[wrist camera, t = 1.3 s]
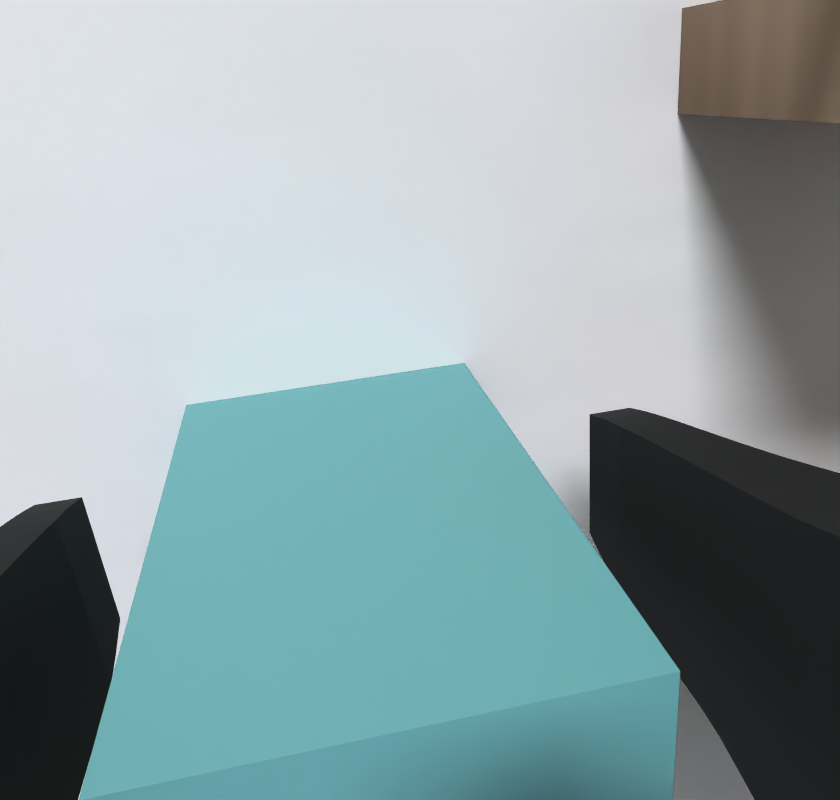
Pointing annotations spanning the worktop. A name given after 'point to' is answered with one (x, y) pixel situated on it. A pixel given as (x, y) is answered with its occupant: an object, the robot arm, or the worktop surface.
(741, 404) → the worktop surface
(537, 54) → the worktop surface
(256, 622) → the teal domino
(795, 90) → the walnut domino
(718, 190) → the worktop surface
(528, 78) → the worktop surface
